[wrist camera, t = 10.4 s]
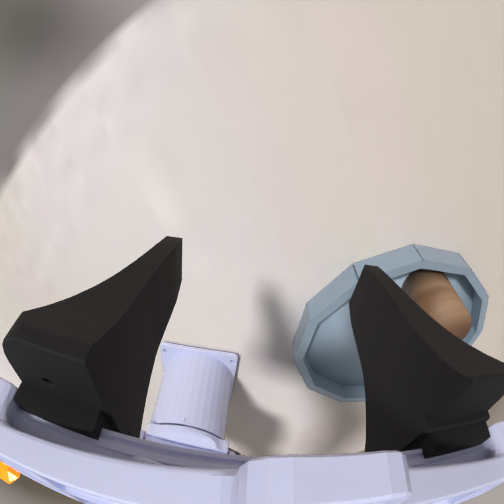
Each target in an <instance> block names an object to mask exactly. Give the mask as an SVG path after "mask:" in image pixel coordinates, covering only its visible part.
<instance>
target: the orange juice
mask: <svg viewBox="0 0 504 504" xmlns="http://www.w3.org/2000/svg"><path fill="white" fill-rule="evenodd" d="M19 475H20V472H18V471H16V470H14V469H13V468H11V467H9V466H8V465H6V464H4V463H2V462H0V478H1V479H2V480H4V481H6V482H7V483H9V484H10V483H12V482H13V481H15V480H16V479H18V478H19Z"/></svg>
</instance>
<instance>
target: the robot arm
mask: <svg viewBox="0 0 504 504" xmlns="http://www.w3.org/2000/svg"><path fill="white" fill-rule="evenodd" d="M181 281H182V238H176V237H169V236H167V237H165V238H164V239H163V240H161V241H160V242H159V243H157V244H156V245H155V246H154V247H152V248H151V249H150V250H149V251H147V252H146V253H145V254H144V255H142V256H141V257H140V258H138V259H137V260H136V261H134V262H133V263H132V264H130V265H129V266H127V267H126V268H124V269H123V270H121V271H120V272H119V273H117V274H115V275H114V276H112V277H111V278H109V279H107V280H105V281H103V282H102V283H100V284H98V285H96V286H94V287H92V288H90V289H88V290H86V291H84V292H81V293H79V294H77V295H75V296H72V297H70V298H67V299H65V300H62V301H59V302H56V303H53V304H50V305H47V306H44V307H40V308H36V309H32V310H28V311H24V312H22V313H21V315H20V316H19V317H18V319H17V320H16V322H15V323H14V325H13V326H12V328H11V329H10V331H9V332H8V334H7V335H6V337H5V338H4V340H3V349H4V353H5V355H6V357H7V359H8V361H9V362H10V364H11V365H12V367H13V369H14V370H15V372H16V373H17V375H18V376H19V378H20V379H21V381H22V383H21V384H20V386H19V388H17V387H16V386H14V385H13V384H12V383H10V382H8V381H6V380H4V379H2V378H0V461H1V462H2V463H4V464H6V465H8V466H9V467H11V468H13V469H14V470H16V471H18V472H20V473H22V474H23V475H25V476H27V477H29V478H31V479H33V480H35V481H37V482H39V483H41V484H43V485H44V486H47V487H49V488H51V489H53V490H55V491H57V492H59V493H62V494H64V495H66V496H68V497H70V498H73V499H75V500H78V501H80V502H82V503H85V504H459V503H461V502H464V501H466V500H468V499H471V498H473V497H476V496H478V495H480V494H482V493H485V492H487V491H489V490H490V489H492V488H494V487H495V486H497V485H499V484H501V483H502V482H504V421H501V422H498V423H495V424H492V425H491V426H489V427H487V424H486V421H487V420H488V419H489V418H490V416H489V413H488V410H489V409H490V408H491V407H492V406H493V405H494V404H495V403H496V402H497V401H498V400H499V399H500V398H501V397H502V396H503V395H504V363H503V362H501V361H499V360H497V359H495V358H493V357H490V356H488V355H486V354H484V353H482V352H481V351H479V350H477V349H475V348H474V347H472V346H470V345H469V344H467V343H465V342H464V341H462V340H461V339H459V338H458V337H456V336H455V335H454V334H452V333H451V332H449V331H448V330H447V329H445V328H444V327H443V326H442V325H440V324H439V323H438V322H437V321H435V320H434V319H433V318H432V317H431V316H430V315H428V314H427V313H426V312H425V311H424V310H423V309H422V308H421V307H420V306H419V305H418V304H417V303H416V302H414V301H413V300H412V299H411V298H410V297H409V296H408V295H407V294H406V293H405V292H404V291H403V290H402V289H401V288H400V287H399V286H398V285H397V284H396V283H395V282H394V281H393V280H392V279H391V278H390V277H389V276H388V275H387V274H386V273H385V272H384V271H383V270H382V269H381V268H379V267H378V266H372V265H364V267H363V270H362V272H361V275H360V277H359V280H358V282H357V284H356V287H355V289H354V292H353V294H352V296H351V299H350V301H349V310H350V319H351V326H352V330H353V334H354V338H355V342H356V346H357V350H358V354H359V359H360V363H361V367H362V372H363V378H364V389H365V402H366V444H365V452H363V453H348V454H324V455H293V454H292V455H269V456H265V457H253V456H242V455H236V454H235V452H233V451H230V450H228V446H229V441H226V440H224V438H225V428H226V419H227V409H228V400H230V399H231V394H232V388H233V383H234V378H235V372H236V367H237V361H238V355H237V354H236V353H230V352H223V351H216V350H209V349H202V348H196V347H190V346H184V345H178V344H173V343H167V342H162V343H161V346H160V347H161V356H162V364H163V372H164V374H163V377H162V381H161V385H160V388H159V392H158V396H157V400H156V404H155V408H154V411H153V415H152V419H151V423H149V425H148V429H147V433H146V434H145V431H144V430H141V425H142V419H143V413H144V408H145V402H146V397H147V392H148V387H149V382H150V378H151V374H152V369H153V365H154V361H155V357H156V354H157V351H158V348H159V345H160V342H161V339H162V337H163V334H164V332H165V329H166V327H167V324H168V322H169V319H170V316H171V314H172V311H173V309H174V306H175V304H176V301H177V297H178V293H179V289H180V285H181Z"/></svg>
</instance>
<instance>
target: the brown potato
mask: <svg viewBox="0 0 504 504" xmlns="http://www.w3.org/2000/svg"><path fill="white" fill-rule="evenodd" d="M402 290H403V291H404V292H405V293H406V294H407V295H408V296H409V297H410V298H411V299H412V300H413V301H414V302H416V303H417V304H418V305H419V306H420V307H421V308H422V309H423V310H424V311H425V312H426V313H427V314H428V315H430V316H431V317H432V318H433V319H434V320H435V321H437V322H438V323H439V324H440V325H442V326H443V327H444V328H445V329H447V330H448V331H449V332H451V333H452V334H454V335H455V336H456V337H458V338H459V339H461V340H463V339H464V338H465V337H466V335H467V334H468V333H469V331H470V329H471V326H472V317H471V316H470V314H469V312H468V310H467V309H466V307H465V305H464V304H463V302H462V300H461V299H460V297H459V296H458V294H457V292H456V291H455V289H454V288H453V286H452V284H451V283H450V281H449V280H448V278H447V277H446V275H445V274H444V272H441V271H435V270H429V269H422V268H421V269H418V270H415V271H412V272H411V273H410V274H409V275H408V276H407V277H406V279H405V280H404V282H403V285H402Z"/></svg>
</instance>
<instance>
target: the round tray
mask: <svg viewBox="0 0 504 504" xmlns="http://www.w3.org/2000/svg"><path fill="white" fill-rule="evenodd" d="M353 264H354V266H353V265H350V266H349V267H348V268H347V269H346V270H345V271H344V272H343V273H341V274H340V275H339V276H338V277H337V278H336V279H335V280H333V281H332V282H331V283H330V284H329V285H328V286H326V287H325V288H324V289H323V290H322V291H321V292H319V293H318V294H317V295H316V296H315V297H313V298H312V299H311V300H310V301H309V302H307V304H306V307H305V310H304V313H303V315H302V318H301V321H300V324H299V327H298V330H297V332H296V335H295V338H294V341H293V352H294V362H295V364H296V366H297V368H298V370H299V372H300V374H301V376H302V377H303V379H304V381H305V383H306V385H307V387H308V388H309V389H311V390H313V391H316V392H318V393H321V394H323V395H325V396H328V397H330V398H333V399H335V400H338V401H341V402H356V401H365V389H364V378H363V372H362V367H361V363H360V359H359V354H358V350H357V346H356V342H355V338H354V334H353V330H352V326H351V319H350V310H349V301H350V299H351V296H352V294H353V292H354V289H355V287H356V284H357V282H358V280H359V277H360V275H361V272H362V270H363V267H364V265H372V266H378V267H379V268H381V269H382V270H383V271H384V272H385V273H386V274H387V275H388V276H389V277H390V278H391V279H392V280H393V281H394V282H395V283H396V284H397V285H398V286H399V287H400V288H401V289H402V285H403V282H404V280H405V279H406V277H407V276H408V275H409V274H410V273H411V272H412V271H415V270H418V269H421V268H422V269H429V270H435V271H441V272H444V274H445V275H446V277H447V278H448V280H449V281H450V283H451V284H452V286H453V288H454V289H455V291H456V292H457V294H458V296H459V297H460V299H461V300H462V302H463V304H464V305H465V307H466V309H467V310H468V312H469V314H470V316H471V317H472V326H471V329H470V331H469V333H468V334H467V335H466V337H465V338H464V339H463V340H462V341H464V342H465V343H467V344H469V345H470V346H471V345H472V344H473V343H474V341H475V340H476V339H477V337H478V336H479V335H480V333H481V331H482V329H483V324H484V319H485V314H486V309H487V304H488V298H489V297H488V294H487V293H486V291H485V289H484V288H483V286H482V285H481V283H480V281H479V280H478V278H477V277H476V275H475V274H474V272H473V271H472V269H471V268H470V267H469V265H468V264H467V263H466V261H465V260H464V259H463V257H462V256H461V255H460V254H459V253H455V252H450V251H445V250H440V249H435V248H430V247H425V246H420V245H415V244H414V245H409V246H406V247H403V248H400V249H397V250H394V251H391V252H388V253H385V254H381V255H378V256H375V257H372V258H369V259H366V260H363V261H360V262H356V263H353Z"/></svg>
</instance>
